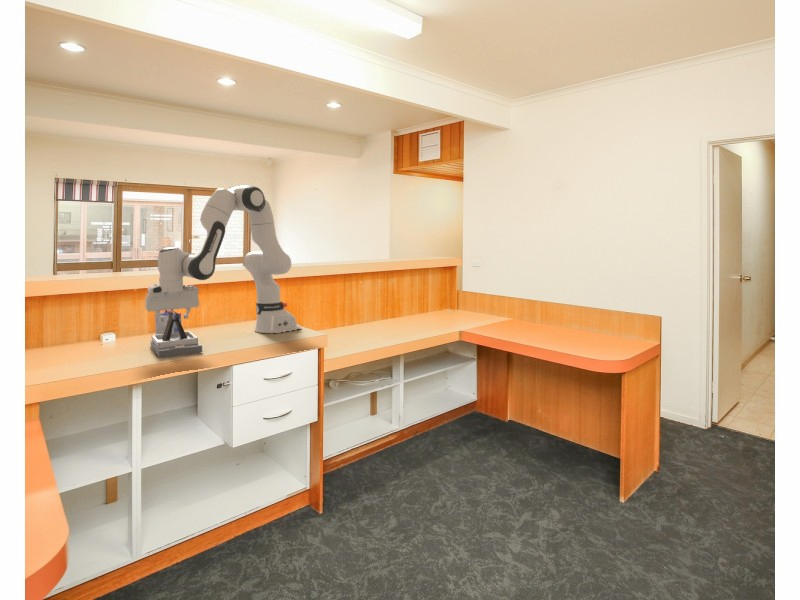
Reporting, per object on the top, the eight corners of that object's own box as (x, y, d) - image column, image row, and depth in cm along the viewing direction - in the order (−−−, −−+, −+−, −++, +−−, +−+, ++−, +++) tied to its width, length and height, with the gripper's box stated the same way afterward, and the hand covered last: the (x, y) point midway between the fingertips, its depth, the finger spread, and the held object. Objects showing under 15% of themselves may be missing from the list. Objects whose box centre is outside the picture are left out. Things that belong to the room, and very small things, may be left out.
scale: (191, 342, 217) (190, 330, 216) (202, 352, 200) (201, 339, 200) (150, 347, 207) (150, 335, 207) (159, 358, 191) (158, 344, 190)
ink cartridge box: (183, 339, 222) (181, 308, 220) (175, 342, 217) (173, 310, 215) (163, 338, 224) (161, 307, 222) (155, 341, 219) (153, 309, 217)
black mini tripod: (164, 342, 200) (162, 314, 198) (162, 340, 205) (160, 311, 203) (188, 340, 205) (186, 312, 203) (185, 337, 210) (183, 309, 208)
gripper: (196, 284, 210) (198, 315, 212) (143, 287, 198) (145, 321, 201) (200, 285, 205) (202, 318, 207) (145, 289, 193) (148, 323, 196)
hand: (173, 319), depth 204 cm, fingers open, 8 cm apart
